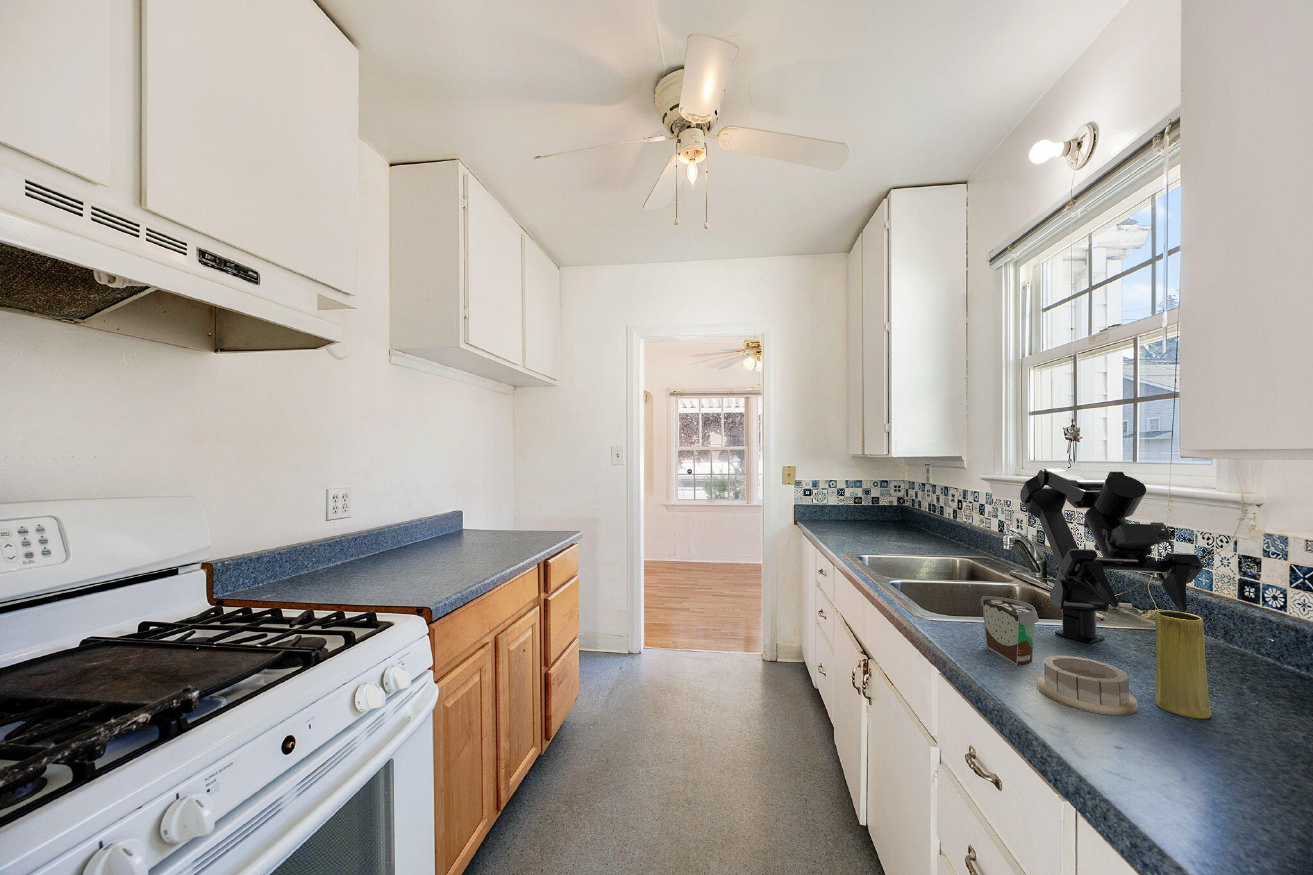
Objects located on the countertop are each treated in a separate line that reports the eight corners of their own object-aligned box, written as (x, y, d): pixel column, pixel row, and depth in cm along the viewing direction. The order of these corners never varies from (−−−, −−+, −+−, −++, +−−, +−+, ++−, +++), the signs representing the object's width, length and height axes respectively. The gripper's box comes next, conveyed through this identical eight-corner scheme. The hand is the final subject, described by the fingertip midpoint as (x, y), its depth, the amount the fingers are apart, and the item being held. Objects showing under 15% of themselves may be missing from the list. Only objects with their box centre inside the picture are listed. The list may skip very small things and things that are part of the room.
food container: (1056, 668, 95) (1055, 613, 95) (1022, 668, 95) (1020, 613, 95) (1012, 644, 107) (1010, 595, 108) (981, 644, 107) (980, 595, 108)
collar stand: (1062, 674, 92) (1061, 648, 92) (1153, 704, 81) (1152, 674, 81) (1021, 688, 87) (1020, 661, 87) (1112, 722, 76) (1111, 691, 76)
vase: (1202, 705, 81) (1198, 612, 81) (1219, 723, 75) (1214, 623, 76) (1149, 696, 84) (1145, 607, 84) (1162, 713, 78) (1158, 617, 79)
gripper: (1065, 504, 96) (1098, 578, 85) (1194, 506, 90) (1246, 586, 79) (1049, 541, 103) (1077, 613, 92) (1167, 545, 97) (1212, 623, 86)
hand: (1149, 608), depth 87 cm, fingers open, 9 cm apart
